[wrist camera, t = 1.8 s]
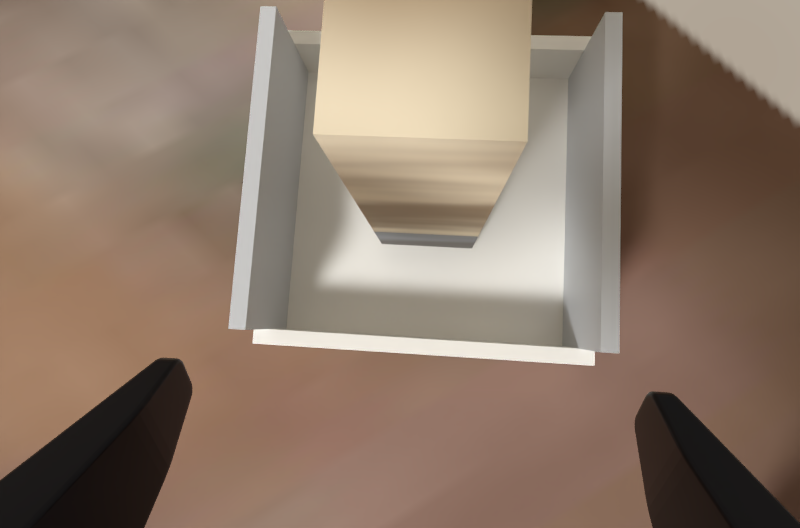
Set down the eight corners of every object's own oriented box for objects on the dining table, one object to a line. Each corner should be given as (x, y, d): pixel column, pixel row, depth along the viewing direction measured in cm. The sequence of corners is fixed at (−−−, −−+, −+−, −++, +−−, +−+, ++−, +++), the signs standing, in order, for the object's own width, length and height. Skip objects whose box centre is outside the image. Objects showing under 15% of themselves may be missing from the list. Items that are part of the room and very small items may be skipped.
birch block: (472, 248, 22) (527, 141, 9) (381, 244, 22) (312, 134, 9) (475, 160, 22) (534, -59, 10) (387, 157, 23) (329, -61, 10)
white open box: (572, 360, 22) (619, 372, 16) (275, 340, 23) (226, 346, 17) (578, 73, 23) (622, -4, 18) (300, 66, 24) (262, -9, 19)
